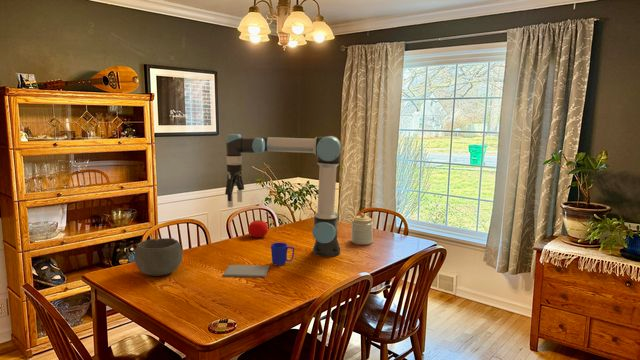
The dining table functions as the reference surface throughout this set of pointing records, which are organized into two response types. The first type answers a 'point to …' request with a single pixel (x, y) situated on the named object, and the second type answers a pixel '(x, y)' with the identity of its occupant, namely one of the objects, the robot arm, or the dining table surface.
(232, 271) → the plate
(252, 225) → the tomato
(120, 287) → the dining table surface
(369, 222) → the jar
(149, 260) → the bowl
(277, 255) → the mug
